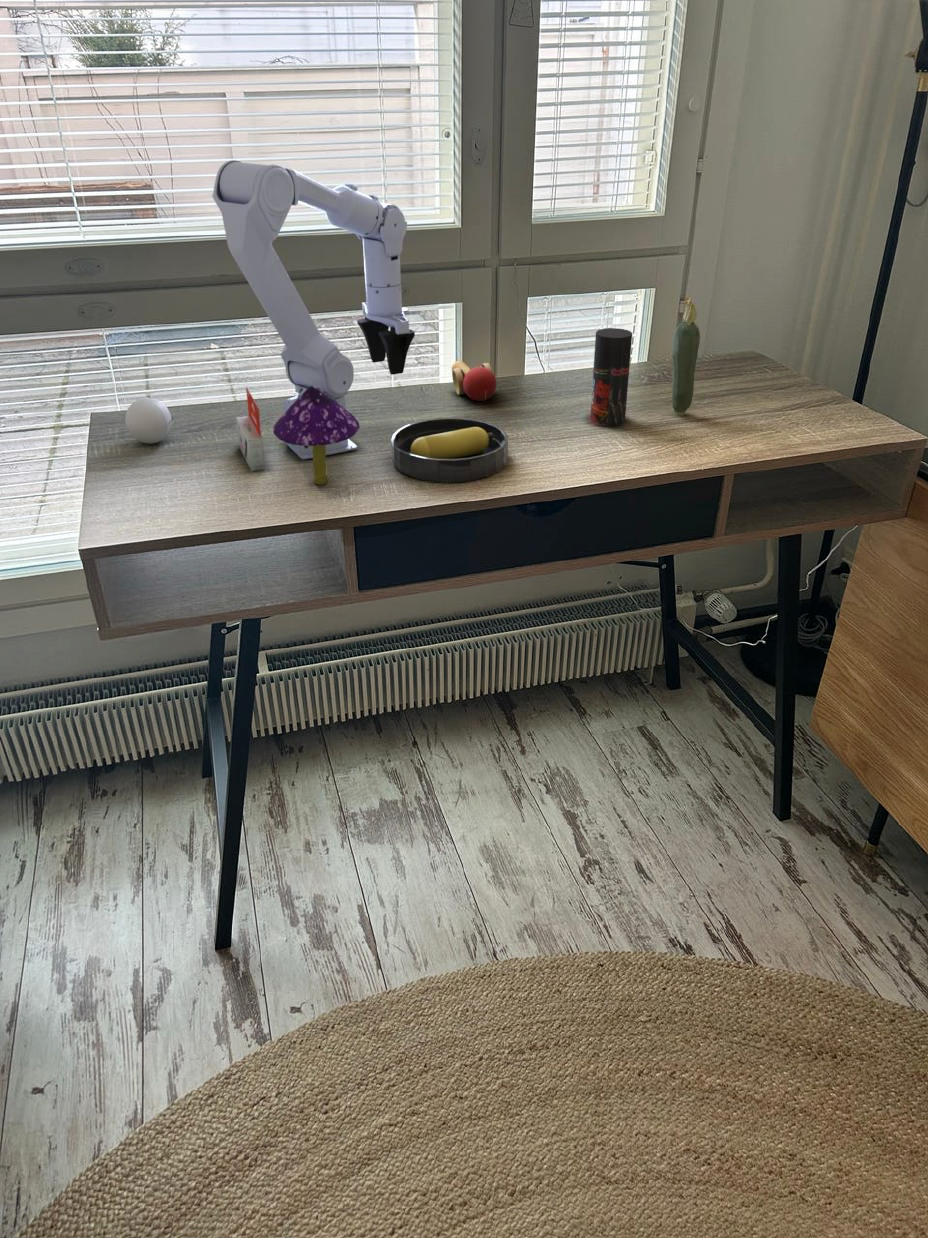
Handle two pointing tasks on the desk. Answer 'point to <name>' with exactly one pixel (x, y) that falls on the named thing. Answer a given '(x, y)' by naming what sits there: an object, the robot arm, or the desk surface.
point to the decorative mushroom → (316, 426)
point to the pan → (448, 468)
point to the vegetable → (685, 359)
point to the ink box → (251, 436)
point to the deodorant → (610, 376)
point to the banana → (452, 444)
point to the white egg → (148, 420)
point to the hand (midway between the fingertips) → (387, 367)
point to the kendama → (474, 380)
